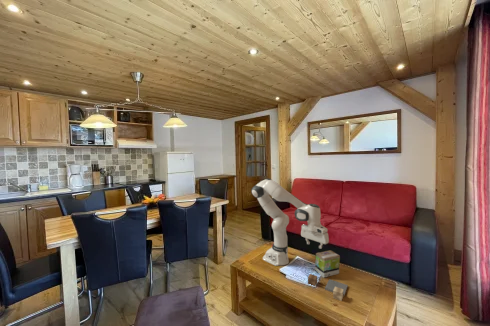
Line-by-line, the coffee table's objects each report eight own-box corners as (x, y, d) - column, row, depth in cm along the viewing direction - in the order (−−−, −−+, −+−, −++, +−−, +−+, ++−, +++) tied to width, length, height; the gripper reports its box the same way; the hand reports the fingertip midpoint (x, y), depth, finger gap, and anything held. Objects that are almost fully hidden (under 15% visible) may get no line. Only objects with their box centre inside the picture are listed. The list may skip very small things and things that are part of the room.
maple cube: (333, 298, 135) (333, 290, 135) (334, 293, 139) (335, 286, 139) (341, 301, 132) (341, 293, 132) (343, 296, 136) (343, 289, 136)
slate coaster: (324, 289, 143) (324, 287, 143) (329, 280, 153) (329, 279, 153) (344, 296, 136) (344, 294, 136) (347, 286, 146) (347, 285, 146)
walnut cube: (307, 284, 149) (307, 277, 149) (310, 280, 154) (310, 273, 153) (314, 286, 147) (315, 279, 146) (317, 282, 151) (317, 276, 150)
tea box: (324, 278, 156) (324, 258, 155) (314, 271, 165) (315, 252, 165) (339, 274, 162) (340, 255, 161) (329, 267, 171) (330, 249, 170)
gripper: (299, 224, 157) (299, 243, 157) (325, 231, 141) (325, 252, 142) (304, 222, 161) (304, 240, 161) (329, 229, 145) (329, 249, 146)
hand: (314, 246), depth 151 cm, fingers open, 8 cm apart
